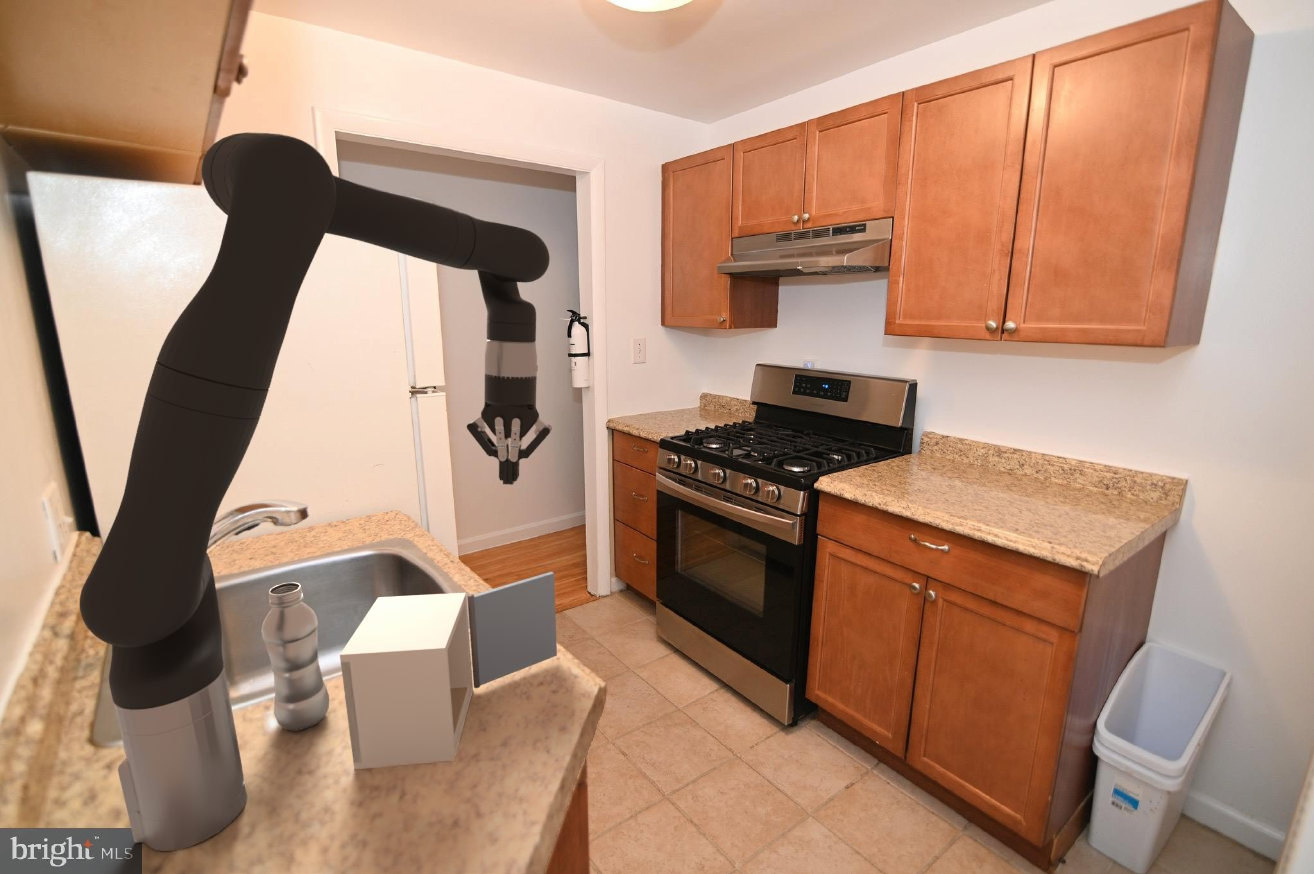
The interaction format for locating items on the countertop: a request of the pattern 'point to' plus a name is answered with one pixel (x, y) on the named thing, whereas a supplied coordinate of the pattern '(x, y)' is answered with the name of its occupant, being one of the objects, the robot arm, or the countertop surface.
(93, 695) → the countertop surface
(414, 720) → the box
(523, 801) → the countertop surface
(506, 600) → the flap
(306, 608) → the plastic bottle
